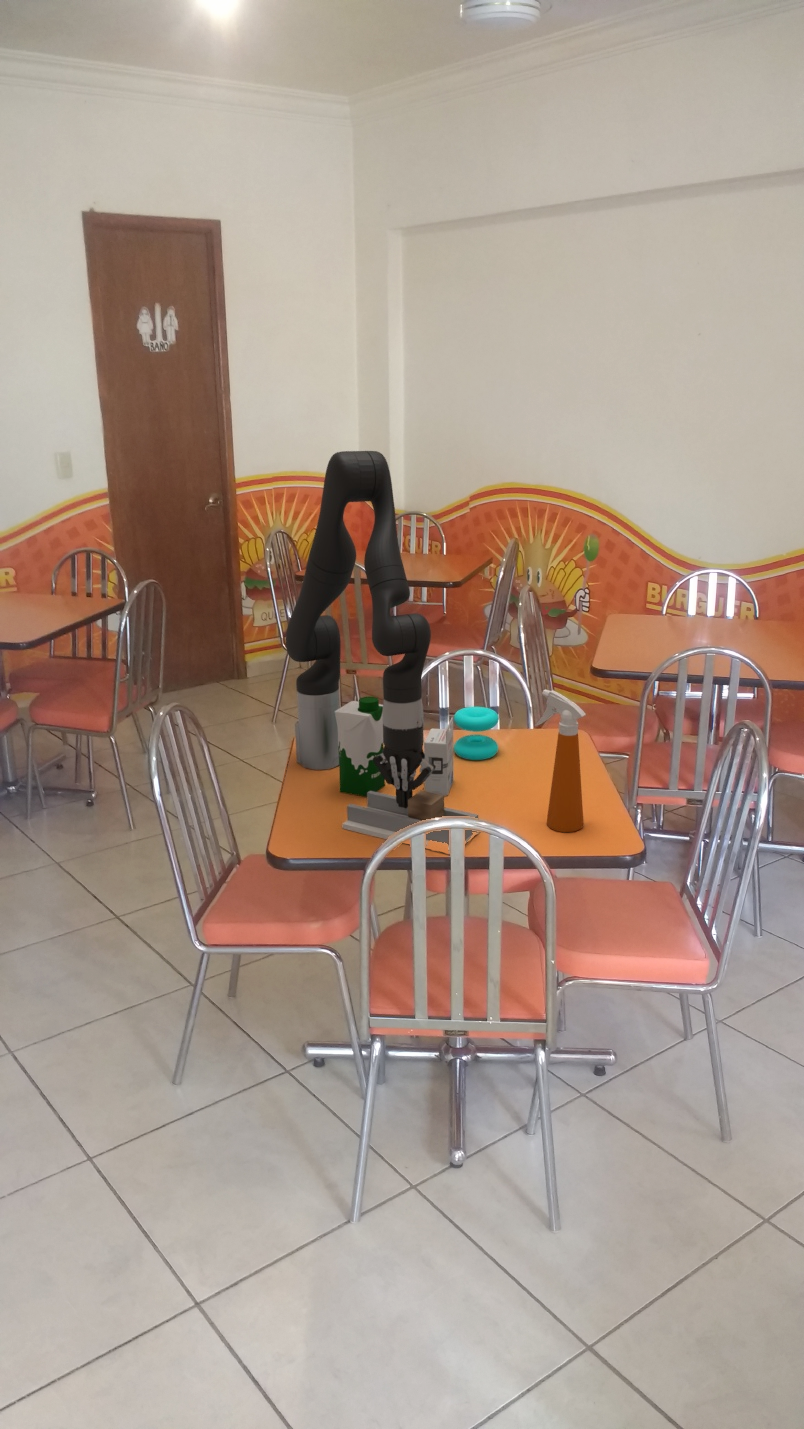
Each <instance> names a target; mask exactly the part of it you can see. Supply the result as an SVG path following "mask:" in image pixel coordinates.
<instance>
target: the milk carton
mask: <svg viewBox="0 0 804 1429" xmlns="http://www.w3.org/2000/svg"><path fill="white" fill-rule="evenodd" d="M335 716H336V721H337V727H338V749H339V765H338V770H339V774H338V775H339V793H343V794H349V795H354V796H359V797H364V798H367V792H369V791H374V792H379V791H380V790H381V789H382V788H384V787H385V786H386V781H385V779H384V778H383V776H382V774H381V773H380V771H379V770H378V768H377V767H376V765H375V764H374V762H373V758H374V757H376V756H377V755H379V754H381V753H383V748H384V743H383V704H381V703H379V698H378V697H375V696H363V697H360V698H359V699H358V701H357V700H351V701H349V702H348V703H346V704H344V705H343V706H340V708H339V709H338V710H336V711H335Z"/></svg>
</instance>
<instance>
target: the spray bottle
mask: <svg viewBox="0 0 804 1429" xmlns="http://www.w3.org/2000/svg"><path fill="white" fill-rule="evenodd" d="M541 694H542V696H543V697H544V698H546V699H547V701H546V703H545V705H546V709H545V711H544V712H543V714H542V716H541V717H540V719H538V721H537V722H536V723H535V724H534V725H533V726H534V727H536V726H539V725H541V724H544V723H545V722H546V721H548V720H549V719H550V718H551V717H553V716H555V715H556V714H559V715H560V721H559V722H558V734H557V741H556V750H555V757H554V763H553V764H554V765H553V772H552V779H551V785H550V795H549V801H548V808H547V809H548V810H547V816H546V826H547V827H548V828H549V829H551V830H554V831H555V832H560V833H573V832H576V831H580V830H581V829H582V828H584V825H585V824H584V823H585V822H584V812H583V810H584V809H583V794H582V792H583V791H582V775H581V760H580V744H579V743H580V742H579V741H580V740H579V722H578V720H579V719H581V718H583V717H585V716H586V713H585V711H584V710H583V709H582V708H581V707H580V706H579V705H578V704H576V703H575V702H573V701H572V700H571V699H569V698H567V697H566V696H564V695H563V694H561V693H560V692H557V691H555V689H552V690H549V689H544V690H542V693H541Z"/></svg>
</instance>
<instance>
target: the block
mask: <svg viewBox="0 0 804 1429" xmlns="http://www.w3.org/2000/svg"><path fill="white" fill-rule="evenodd" d="M444 807H445V796H444V795H440V794H435V793H431V792H426V791H425V790H420V791H418V792H417V793H415V794H414V795H413V796H412V797H411V798H410V799H408V817H409V818H414V819H418V820H426V819H431V818H435V817H442V816H444Z"/></svg>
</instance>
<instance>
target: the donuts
mask: <svg viewBox="0 0 804 1429" xmlns="http://www.w3.org/2000/svg"><path fill="white" fill-rule="evenodd" d="M498 722H499V714H498V713H497V711H495V710H493V709H492V708H489V707H483V706H467V707H464V708H461V709H458V710H457V711H456V712H455V713H454V715H453V723H455V725H456V726H457V727H458V728H460V729H462V730H465V731H467V732H476V733H477V732H486V731H489V730H491V729H493V728H494V727H496V726H497V725H498ZM498 751H499V744H498V743H497V741H496V740H494V739H493V738H492V737H491V736H487V735H484V734H469V735H467V734H466V735H464V736H462V737H460V738H458V739H457V740H456V741H455V742H454V743H453V752H454V753H455V754H456V756H458V757H460V758H462V759H466V760H471V761H482V760H486V759H487V760H488V759H490V758H492V757H494V756H495V755H496V754H497V753H498Z"/></svg>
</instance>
